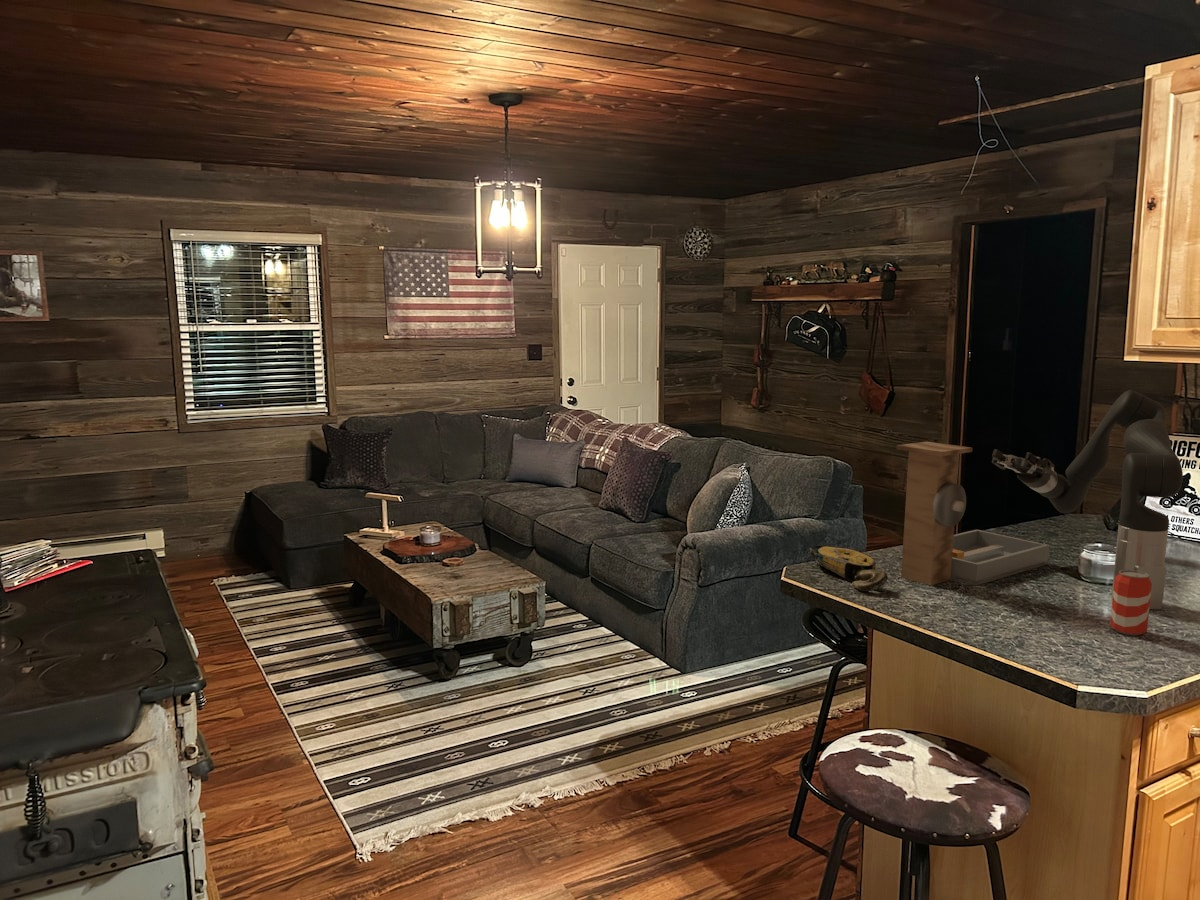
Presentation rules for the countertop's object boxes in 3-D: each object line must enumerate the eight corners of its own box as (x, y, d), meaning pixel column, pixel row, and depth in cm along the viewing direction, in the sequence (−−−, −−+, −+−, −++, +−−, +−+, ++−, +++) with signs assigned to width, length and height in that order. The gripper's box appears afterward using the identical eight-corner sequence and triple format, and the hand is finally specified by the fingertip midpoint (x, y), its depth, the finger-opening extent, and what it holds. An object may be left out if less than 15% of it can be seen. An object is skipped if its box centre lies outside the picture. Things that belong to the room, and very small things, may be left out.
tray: (975, 547, 240) (976, 529, 240) (1047, 564, 224) (1049, 545, 223) (902, 565, 222) (904, 546, 221) (976, 585, 206) (977, 564, 205)
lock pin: (992, 552, 231) (993, 537, 230) (1006, 556, 228) (1007, 541, 227) (941, 565, 219) (942, 549, 218) (956, 569, 215) (957, 553, 215)
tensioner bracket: (919, 568, 219) (927, 441, 215) (970, 582, 208) (980, 448, 203) (888, 576, 212) (896, 445, 208) (940, 591, 201) (950, 453, 196)
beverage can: (1106, 631, 176) (1112, 573, 174) (1115, 623, 181) (1121, 567, 179) (1141, 639, 172) (1147, 579, 170) (1149, 631, 176) (1155, 573, 175)
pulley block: (847, 568, 196) (808, 535, 226) (842, 593, 197) (803, 557, 227) (908, 577, 198) (861, 543, 227) (902, 602, 198) (856, 565, 228)
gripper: (1014, 459, 242) (988, 438, 232) (1068, 464, 231) (1042, 442, 221) (1007, 485, 241) (980, 465, 231) (1061, 491, 229) (1034, 470, 220)
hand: (1010, 454), depth 226 cm, fingers open, 8 cm apart
